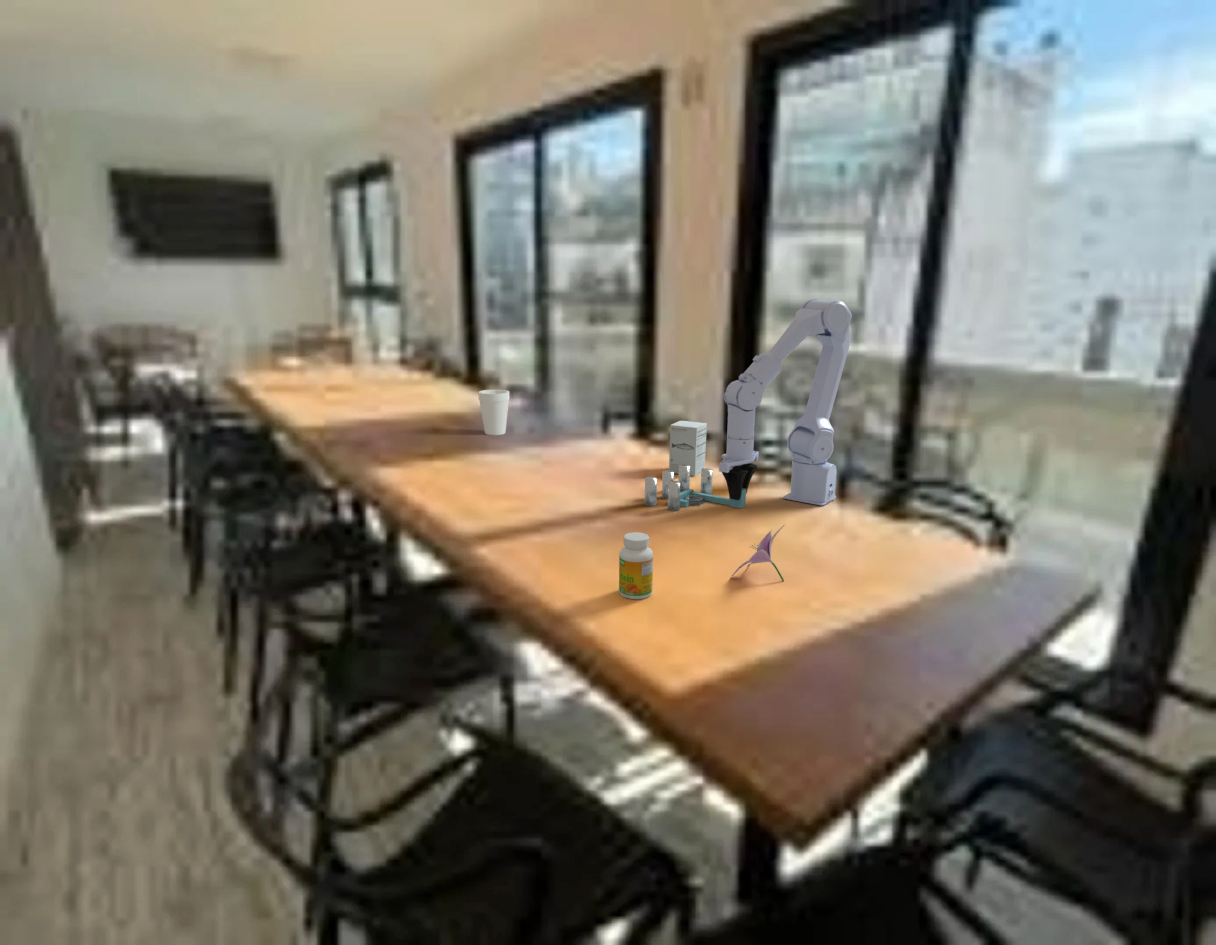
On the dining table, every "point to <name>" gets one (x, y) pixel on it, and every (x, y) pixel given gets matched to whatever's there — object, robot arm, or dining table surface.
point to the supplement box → (687, 446)
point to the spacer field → (675, 486)
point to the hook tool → (714, 498)
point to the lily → (763, 552)
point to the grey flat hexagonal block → (695, 500)
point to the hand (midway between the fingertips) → (737, 497)
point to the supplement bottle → (635, 567)
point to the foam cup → (494, 410)
